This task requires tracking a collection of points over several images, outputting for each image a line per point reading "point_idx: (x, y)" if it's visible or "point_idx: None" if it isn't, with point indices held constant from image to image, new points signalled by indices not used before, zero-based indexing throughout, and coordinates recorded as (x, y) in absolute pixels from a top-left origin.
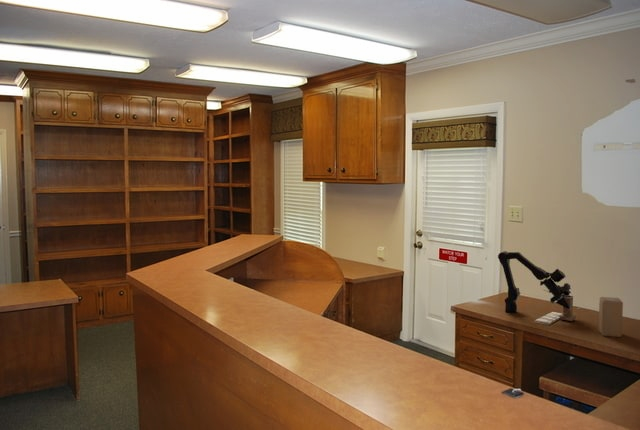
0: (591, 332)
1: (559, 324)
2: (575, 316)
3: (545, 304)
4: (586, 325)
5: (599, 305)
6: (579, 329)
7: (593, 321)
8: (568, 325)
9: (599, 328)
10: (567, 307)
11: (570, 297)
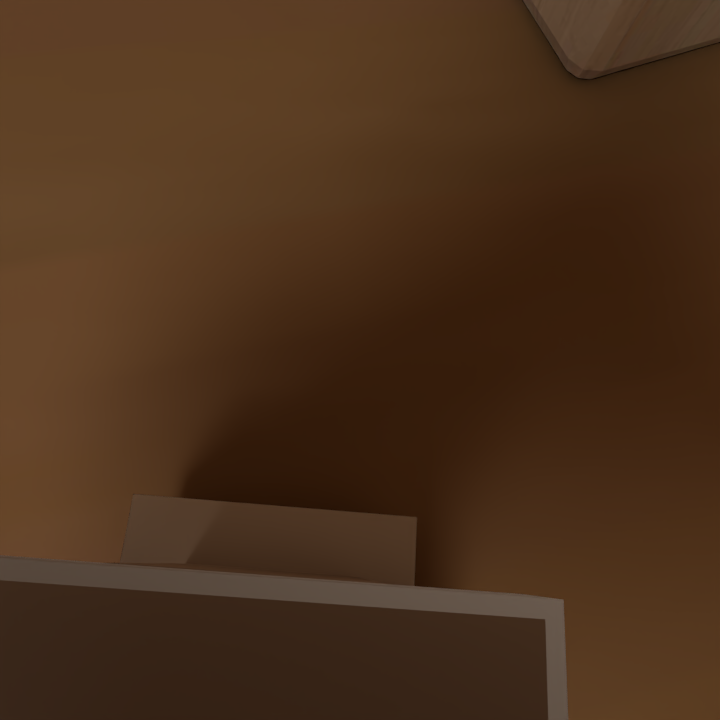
0: (713, 149)
1: (688, 679)
2: (161, 498)
3: None
4: (407, 268)
5: None
6: (706, 304)
7: (73, 228)
8: (624, 511)
9: (677, 25)
10: None
11: (556, 617)
